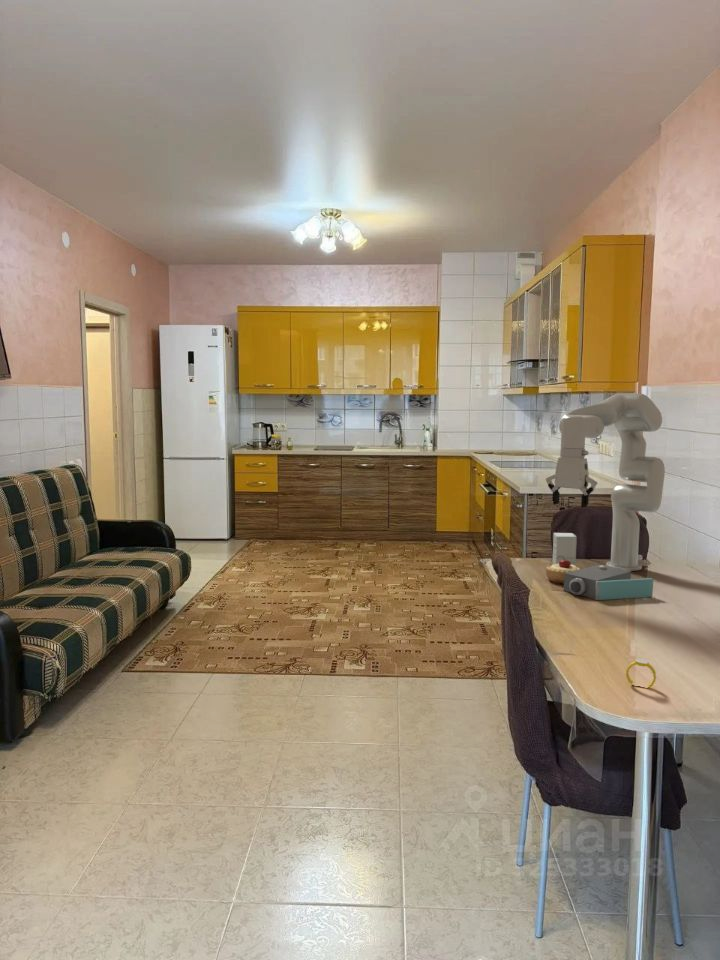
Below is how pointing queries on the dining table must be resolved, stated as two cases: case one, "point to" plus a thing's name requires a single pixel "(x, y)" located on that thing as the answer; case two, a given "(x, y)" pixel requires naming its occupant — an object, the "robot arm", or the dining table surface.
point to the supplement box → (564, 547)
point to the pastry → (559, 570)
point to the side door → (624, 589)
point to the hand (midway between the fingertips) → (569, 505)
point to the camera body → (592, 579)
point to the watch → (641, 663)
